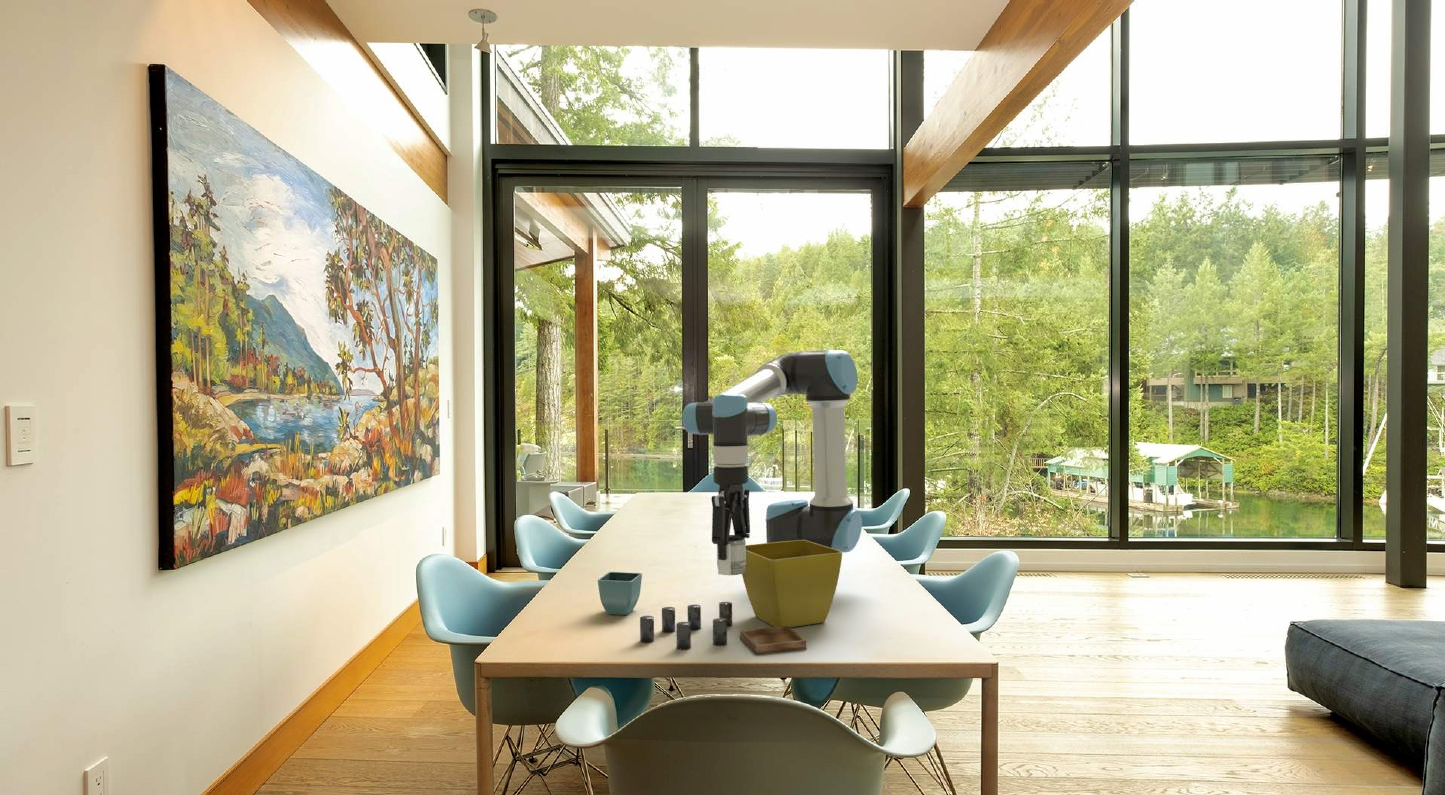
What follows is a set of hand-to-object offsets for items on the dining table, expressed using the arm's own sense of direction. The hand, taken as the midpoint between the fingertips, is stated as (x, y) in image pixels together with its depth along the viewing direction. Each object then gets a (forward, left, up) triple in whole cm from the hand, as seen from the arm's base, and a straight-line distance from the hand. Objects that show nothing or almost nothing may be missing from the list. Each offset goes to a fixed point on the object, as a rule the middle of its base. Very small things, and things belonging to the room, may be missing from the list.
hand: (732, 570), depth 171 cm
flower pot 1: (+20, -29, -15) cm, 39 cm away
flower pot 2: (-17, -10, -15) cm, 25 cm away
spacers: (+8, -4, -15) cm, 18 cm away
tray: (-7, +6, -15) cm, 18 cm away
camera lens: (0, 0, -1) cm, 1 cm away
